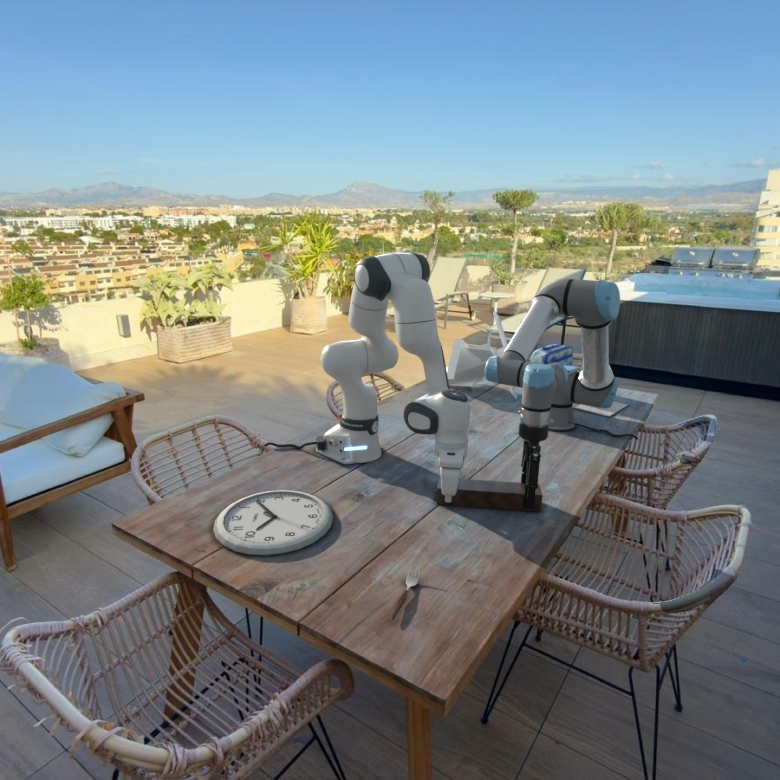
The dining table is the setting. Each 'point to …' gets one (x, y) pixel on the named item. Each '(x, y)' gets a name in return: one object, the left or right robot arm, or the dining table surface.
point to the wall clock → (273, 522)
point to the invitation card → (603, 411)
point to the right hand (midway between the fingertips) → (526, 500)
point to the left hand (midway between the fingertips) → (448, 494)
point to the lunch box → (553, 355)
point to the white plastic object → (473, 359)
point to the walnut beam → (490, 495)
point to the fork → (410, 583)
